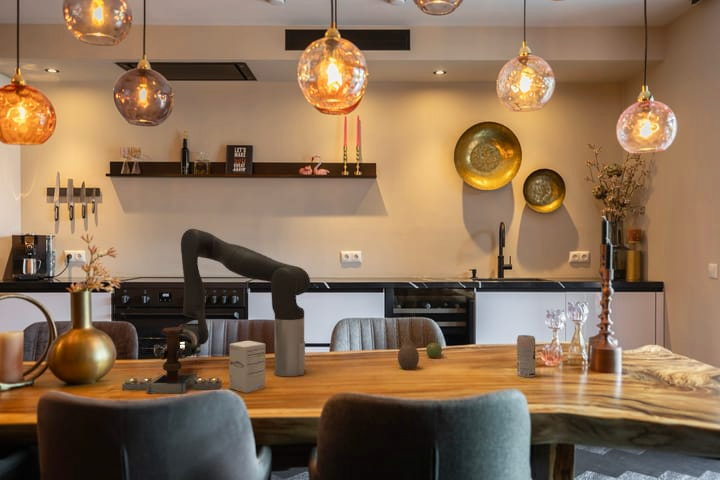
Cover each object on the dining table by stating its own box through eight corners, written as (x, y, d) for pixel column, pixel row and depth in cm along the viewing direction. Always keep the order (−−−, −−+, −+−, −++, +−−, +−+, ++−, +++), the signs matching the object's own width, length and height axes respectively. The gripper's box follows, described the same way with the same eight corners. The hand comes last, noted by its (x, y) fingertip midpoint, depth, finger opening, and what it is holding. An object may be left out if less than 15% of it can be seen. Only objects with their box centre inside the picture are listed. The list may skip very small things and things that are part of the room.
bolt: (174, 385, 146) (175, 330, 146) (158, 384, 147) (158, 330, 147) (185, 379, 151) (186, 327, 151) (169, 378, 152) (170, 326, 152)
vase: (394, 369, 171) (394, 342, 171) (401, 365, 177) (401, 338, 177) (415, 371, 168) (415, 343, 168) (421, 366, 175) (421, 340, 175)
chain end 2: (224, 382, 155) (224, 373, 155) (215, 393, 144) (215, 383, 144) (163, 382, 154) (163, 373, 154) (148, 393, 143) (148, 384, 143)
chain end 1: (195, 382, 155) (195, 373, 155) (183, 393, 143) (183, 383, 143) (133, 383, 154) (133, 374, 154) (116, 394, 143) (116, 384, 143)
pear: (425, 342, 188) (427, 342, 197) (425, 358, 187) (427, 357, 196) (441, 343, 187) (443, 343, 196) (441, 358, 186) (443, 357, 195)
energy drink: (536, 374, 164) (536, 335, 164) (534, 378, 159) (534, 338, 159) (518, 372, 166) (518, 334, 166) (515, 376, 161) (515, 337, 162)
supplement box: (228, 388, 148) (228, 343, 148) (249, 383, 154) (249, 339, 154) (244, 393, 143) (244, 346, 143) (266, 388, 149) (266, 342, 149)
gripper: (158, 331, 162) (143, 342, 145) (206, 331, 164) (196, 341, 147) (158, 356, 162) (143, 370, 145) (206, 355, 164) (196, 368, 147)
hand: (170, 355), depth 146 cm, fingers closed on bolt, 3 cm apart
